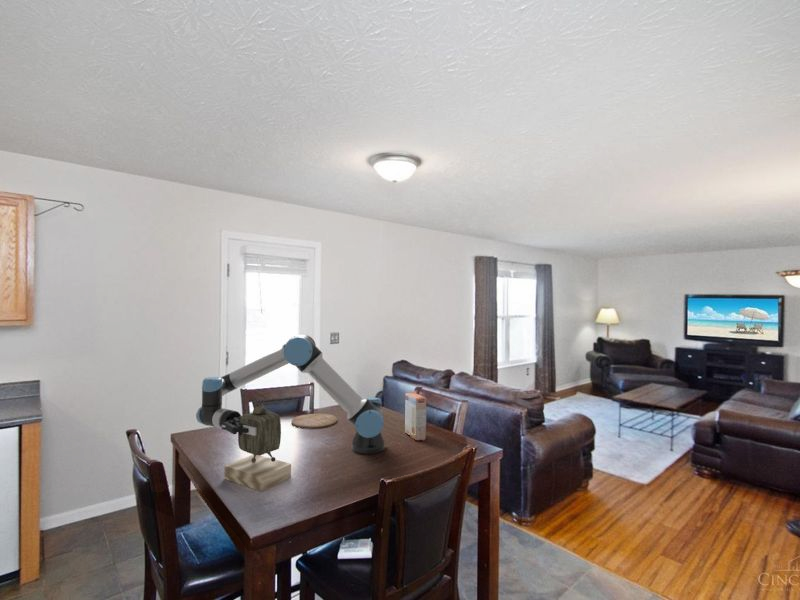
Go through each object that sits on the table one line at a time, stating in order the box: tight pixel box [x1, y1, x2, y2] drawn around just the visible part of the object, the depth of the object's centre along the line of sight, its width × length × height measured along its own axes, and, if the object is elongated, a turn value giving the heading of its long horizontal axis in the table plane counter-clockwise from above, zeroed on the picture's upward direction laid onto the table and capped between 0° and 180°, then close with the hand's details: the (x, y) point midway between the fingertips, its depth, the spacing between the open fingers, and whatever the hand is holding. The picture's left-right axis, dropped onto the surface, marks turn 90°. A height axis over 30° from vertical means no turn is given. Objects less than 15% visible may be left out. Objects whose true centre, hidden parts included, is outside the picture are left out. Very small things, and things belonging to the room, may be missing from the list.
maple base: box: [223, 454, 292, 492], centre depth 150 cm, size 20×14×5 cm
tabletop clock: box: [237, 393, 282, 463], centre depth 151 cm, size 14×9×25 cm, turn 56°
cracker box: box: [404, 392, 427, 441], centre depth 201 cm, size 14×6×21 cm, turn 22°
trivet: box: [291, 413, 338, 429], centre depth 225 cm, size 25×25×2 cm
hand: (266, 428), depth 148 cm, fingers closed on tabletop clock, 10 cm apart
